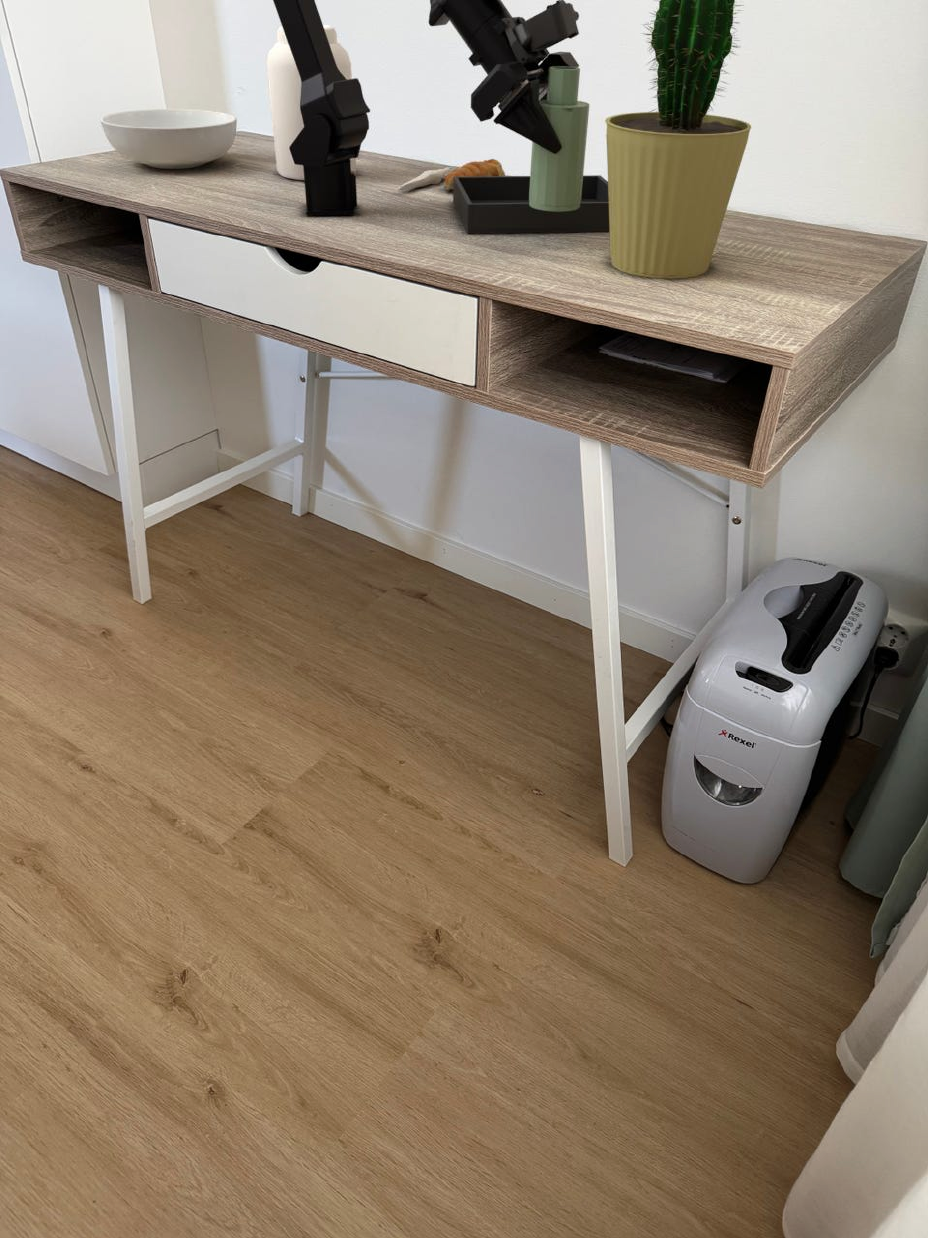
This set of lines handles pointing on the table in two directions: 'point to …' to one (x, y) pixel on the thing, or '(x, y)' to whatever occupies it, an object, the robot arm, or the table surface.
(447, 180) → the pastry
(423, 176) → the parsnip
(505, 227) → the tray
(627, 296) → the table surface
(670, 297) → the table surface
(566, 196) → the bottle
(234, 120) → the serving bowl
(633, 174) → the potted cactus
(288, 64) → the cream vase
